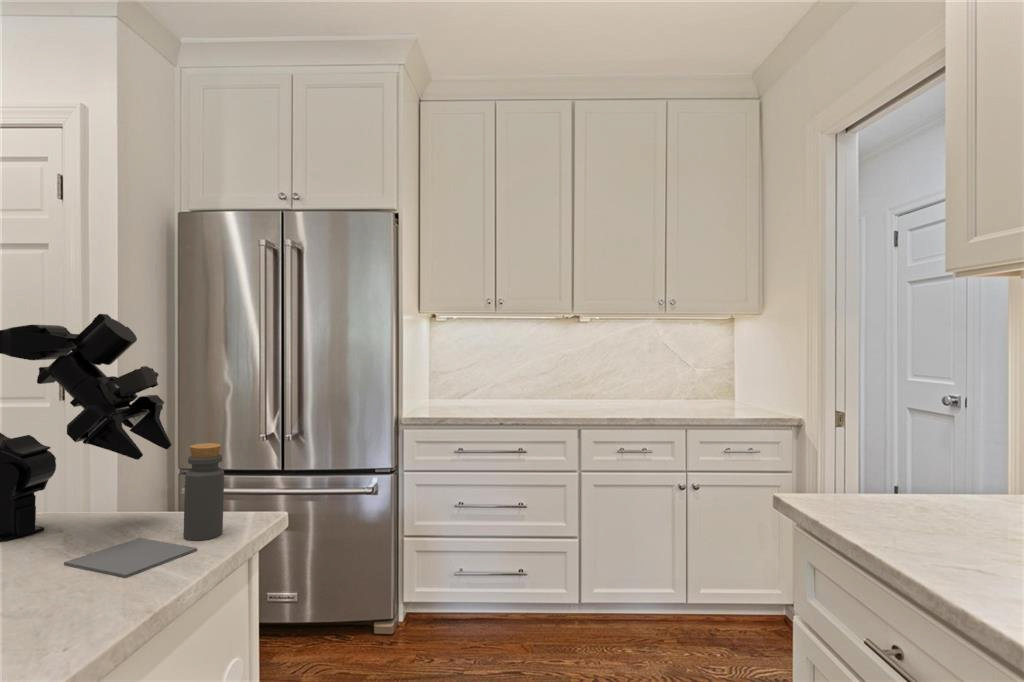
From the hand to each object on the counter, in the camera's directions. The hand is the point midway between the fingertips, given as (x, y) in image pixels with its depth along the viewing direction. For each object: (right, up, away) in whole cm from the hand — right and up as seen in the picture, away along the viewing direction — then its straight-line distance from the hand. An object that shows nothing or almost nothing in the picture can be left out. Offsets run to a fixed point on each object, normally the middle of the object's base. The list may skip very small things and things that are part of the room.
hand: (155, 452), depth 102 cm
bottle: (+8, -14, +1) cm, 16 cm away
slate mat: (+3, -14, -10) cm, 18 cm away
